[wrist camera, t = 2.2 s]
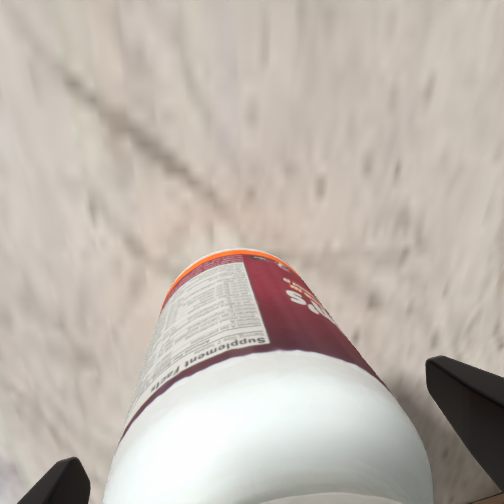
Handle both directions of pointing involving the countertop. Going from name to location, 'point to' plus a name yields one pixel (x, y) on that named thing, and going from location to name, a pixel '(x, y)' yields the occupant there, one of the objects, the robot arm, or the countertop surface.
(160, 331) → the pill bottle
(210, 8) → the countertop surface
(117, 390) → the countertop surface
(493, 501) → the socket board
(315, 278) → the countertop surface
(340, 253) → the countertop surface
